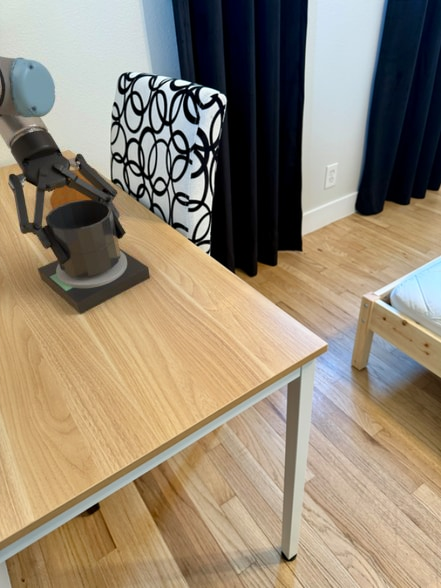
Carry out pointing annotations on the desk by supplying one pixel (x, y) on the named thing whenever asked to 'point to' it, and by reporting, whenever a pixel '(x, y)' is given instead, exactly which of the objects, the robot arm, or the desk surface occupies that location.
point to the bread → (68, 193)
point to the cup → (85, 237)
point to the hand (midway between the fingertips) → (94, 248)
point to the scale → (94, 282)
